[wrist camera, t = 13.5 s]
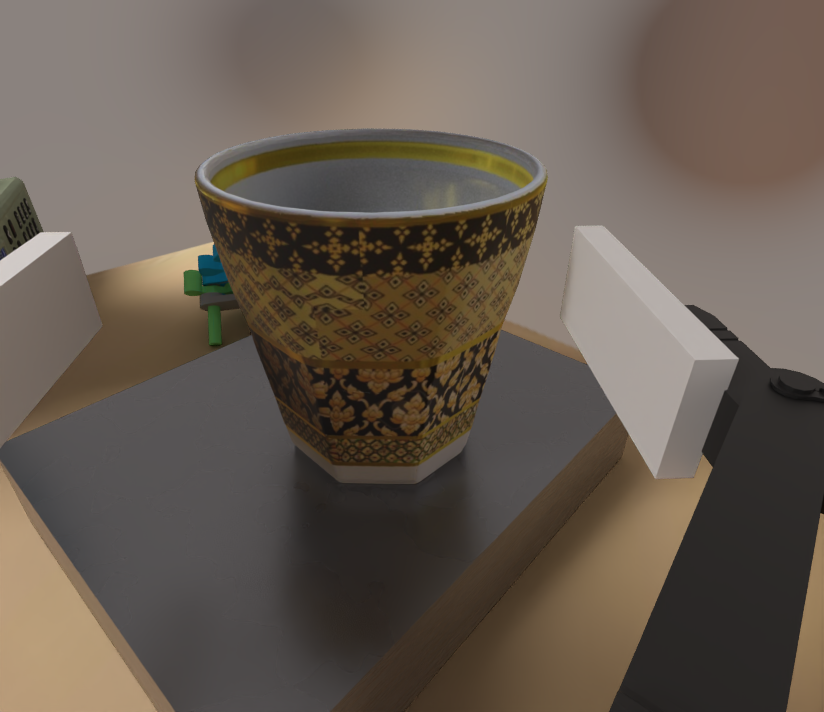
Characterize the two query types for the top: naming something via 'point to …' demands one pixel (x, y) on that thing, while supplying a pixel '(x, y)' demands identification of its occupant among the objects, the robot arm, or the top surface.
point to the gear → (211, 292)
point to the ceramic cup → (374, 283)
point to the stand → (301, 531)
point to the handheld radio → (16, 216)
